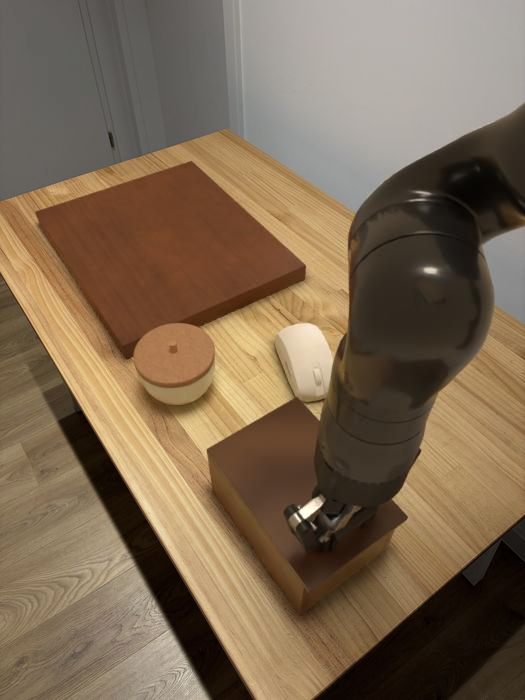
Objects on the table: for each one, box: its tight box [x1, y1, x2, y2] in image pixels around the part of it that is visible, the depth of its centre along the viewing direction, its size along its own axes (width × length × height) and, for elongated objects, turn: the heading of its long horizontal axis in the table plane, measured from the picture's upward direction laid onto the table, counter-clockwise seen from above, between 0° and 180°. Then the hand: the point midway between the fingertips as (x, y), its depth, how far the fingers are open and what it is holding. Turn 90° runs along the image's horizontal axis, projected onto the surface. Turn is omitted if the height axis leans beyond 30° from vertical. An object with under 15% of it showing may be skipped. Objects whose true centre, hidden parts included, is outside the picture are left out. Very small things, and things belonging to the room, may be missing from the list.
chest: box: [206, 453, 396, 616], centre depth 62 cm, size 18×13×9 cm
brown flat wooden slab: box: [34, 160, 307, 360], centre depth 98 cm, size 40×3×33 cm
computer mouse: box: [274, 322, 334, 403], centre depth 78 cm, size 6×13×6 cm, turn 16°
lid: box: [205, 396, 409, 594], centre depth 57 cm, size 18×13×5 cm
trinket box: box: [132, 323, 216, 406], centre depth 75 cm, size 11×11×9 cm
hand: (341, 526), depth 55 cm, fingers open, 5 cm apart
